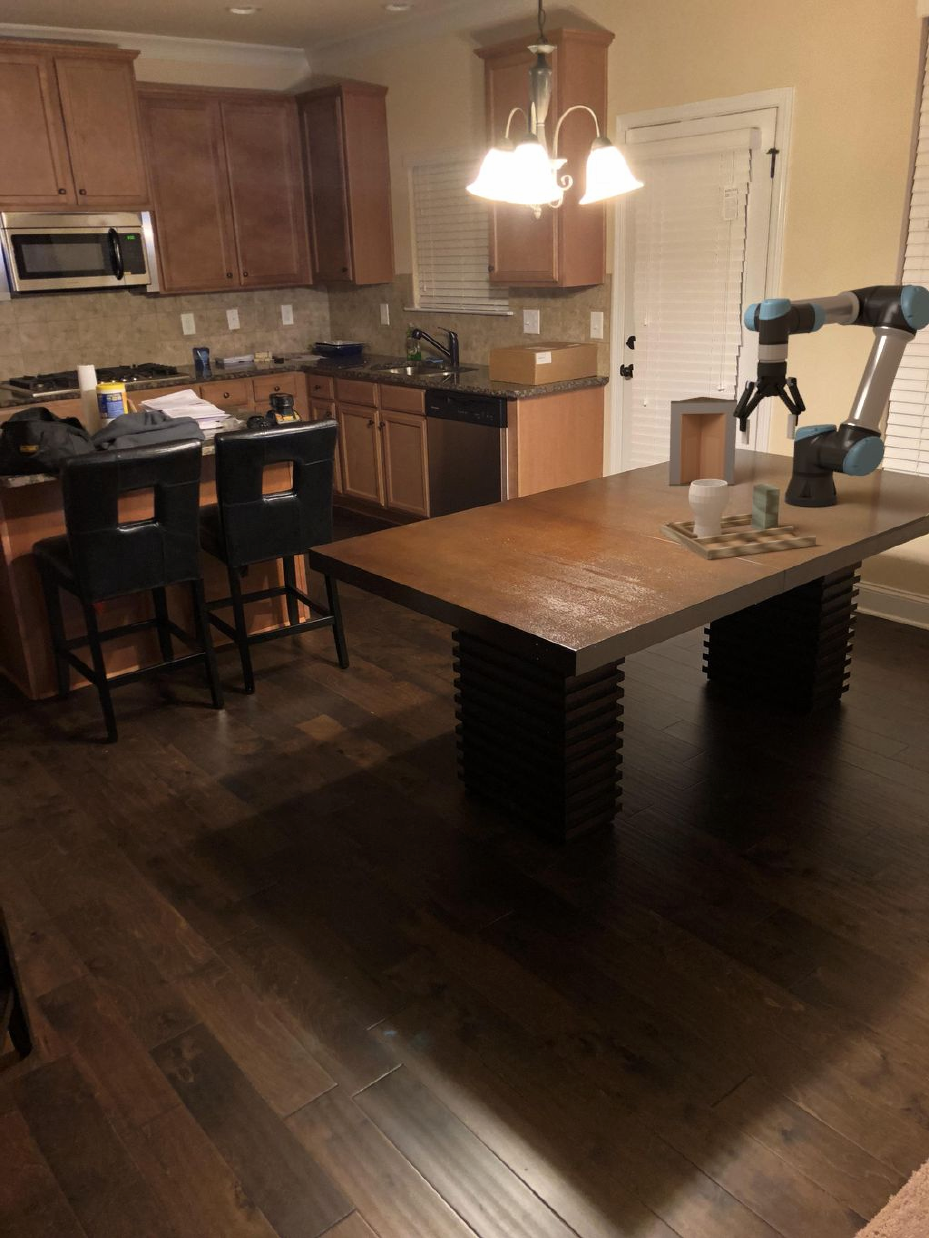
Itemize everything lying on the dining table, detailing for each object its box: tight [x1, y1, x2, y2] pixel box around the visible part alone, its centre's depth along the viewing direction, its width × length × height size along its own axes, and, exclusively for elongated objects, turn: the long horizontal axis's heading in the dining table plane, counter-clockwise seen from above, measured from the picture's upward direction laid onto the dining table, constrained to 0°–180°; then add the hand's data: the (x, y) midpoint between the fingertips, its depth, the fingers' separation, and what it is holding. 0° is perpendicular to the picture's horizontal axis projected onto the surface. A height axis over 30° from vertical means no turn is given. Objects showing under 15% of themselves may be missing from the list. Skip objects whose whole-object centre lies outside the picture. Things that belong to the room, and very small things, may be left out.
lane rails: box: [659, 512, 817, 561], centre depth 264 cm, size 31×28×2 cm
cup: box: [688, 479, 730, 538], centre depth 266 cm, size 11×11×15 cm
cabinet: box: [668, 396, 738, 487], centre depth 324 cm, size 21×10×28 cm, turn 77°
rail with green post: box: [668, 483, 781, 539], centre depth 267 cm, size 27×15×12 cm, turn 104°
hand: (767, 441), depth 264 cm, fingers open, 13 cm apart
